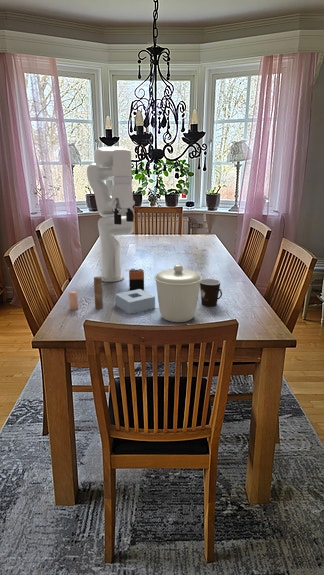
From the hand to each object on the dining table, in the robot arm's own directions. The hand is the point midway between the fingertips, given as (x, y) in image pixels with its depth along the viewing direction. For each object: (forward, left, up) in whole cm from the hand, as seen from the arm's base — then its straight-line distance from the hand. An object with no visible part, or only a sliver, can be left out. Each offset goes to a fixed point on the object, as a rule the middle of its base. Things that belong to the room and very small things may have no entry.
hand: (124, 222), depth 167 cm
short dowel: (+1, -25, -33) cm, 41 cm away
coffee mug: (+29, +24, -33) cm, 50 cm away
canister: (+32, +5, -33) cm, 47 cm away
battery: (-6, +9, -33) cm, 35 cm away
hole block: (+13, -3, -33) cm, 36 cm away
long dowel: (+6, -16, -33) cm, 37 cm away
